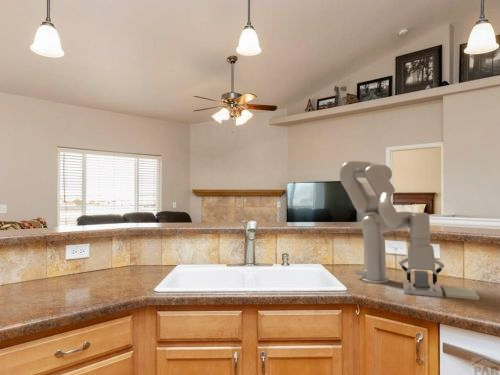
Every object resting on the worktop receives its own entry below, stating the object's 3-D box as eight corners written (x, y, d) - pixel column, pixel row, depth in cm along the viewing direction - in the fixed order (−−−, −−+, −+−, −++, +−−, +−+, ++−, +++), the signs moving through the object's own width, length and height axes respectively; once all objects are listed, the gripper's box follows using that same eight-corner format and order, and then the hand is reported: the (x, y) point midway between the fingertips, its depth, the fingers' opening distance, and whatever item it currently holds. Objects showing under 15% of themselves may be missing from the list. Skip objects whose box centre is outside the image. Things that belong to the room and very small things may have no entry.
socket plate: (403, 293, 139) (403, 288, 139) (403, 284, 152) (403, 280, 152) (442, 297, 133) (442, 292, 133) (438, 287, 146) (438, 283, 146)
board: (446, 296, 134) (446, 294, 134) (442, 288, 145) (442, 286, 145) (479, 299, 129) (479, 297, 129) (473, 291, 140) (473, 288, 140)
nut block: (415, 291, 141) (414, 272, 141) (414, 288, 146) (414, 270, 146) (428, 293, 139) (428, 273, 139) (427, 289, 144) (427, 271, 144)
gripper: (397, 242, 143) (399, 283, 142) (444, 243, 136) (446, 286, 135) (397, 240, 150) (399, 279, 149) (442, 241, 143) (444, 282, 142)
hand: (421, 282), depth 142 cm, fingers open, 8 cm apart
